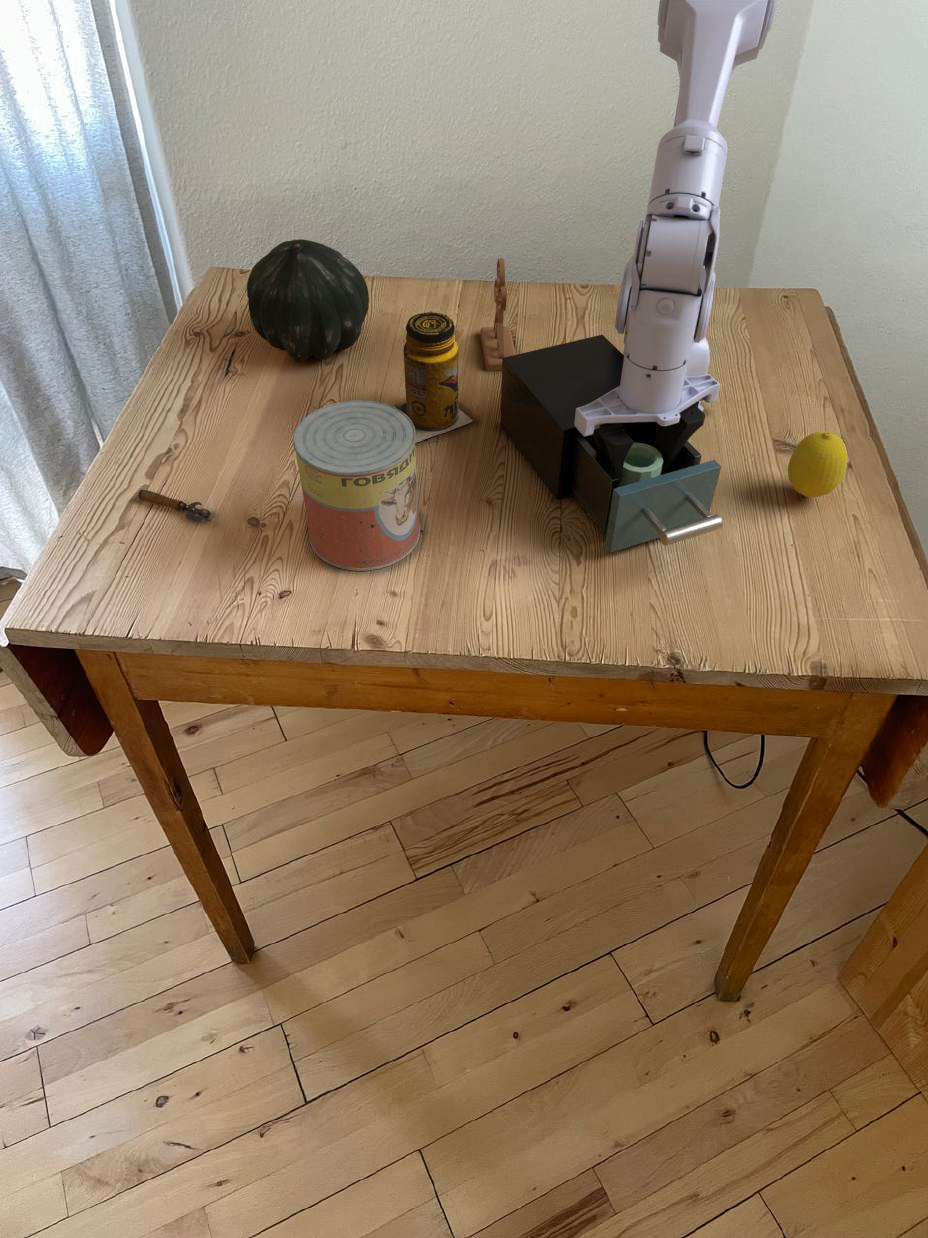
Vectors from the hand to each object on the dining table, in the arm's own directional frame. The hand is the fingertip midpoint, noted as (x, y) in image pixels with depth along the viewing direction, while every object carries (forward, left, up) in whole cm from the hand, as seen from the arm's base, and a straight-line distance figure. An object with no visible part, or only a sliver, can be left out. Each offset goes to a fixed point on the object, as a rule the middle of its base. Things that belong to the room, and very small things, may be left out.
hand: (635, 474), depth 91 cm
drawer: (0, +1, -4) cm, 4 cm away
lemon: (-18, +5, -5) cm, 20 cm away
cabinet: (0, -12, -5) cm, 13 cm away
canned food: (+27, -8, -5) cm, 28 cm away
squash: (+21, -45, -5) cm, 49 cm away
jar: (0, 0, -3) cm, 3 cm away
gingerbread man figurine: (0, -34, -5) cm, 34 cm away
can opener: (+44, -19, -5) cm, 48 cm away
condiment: (+14, -24, -5) cm, 28 cm away
